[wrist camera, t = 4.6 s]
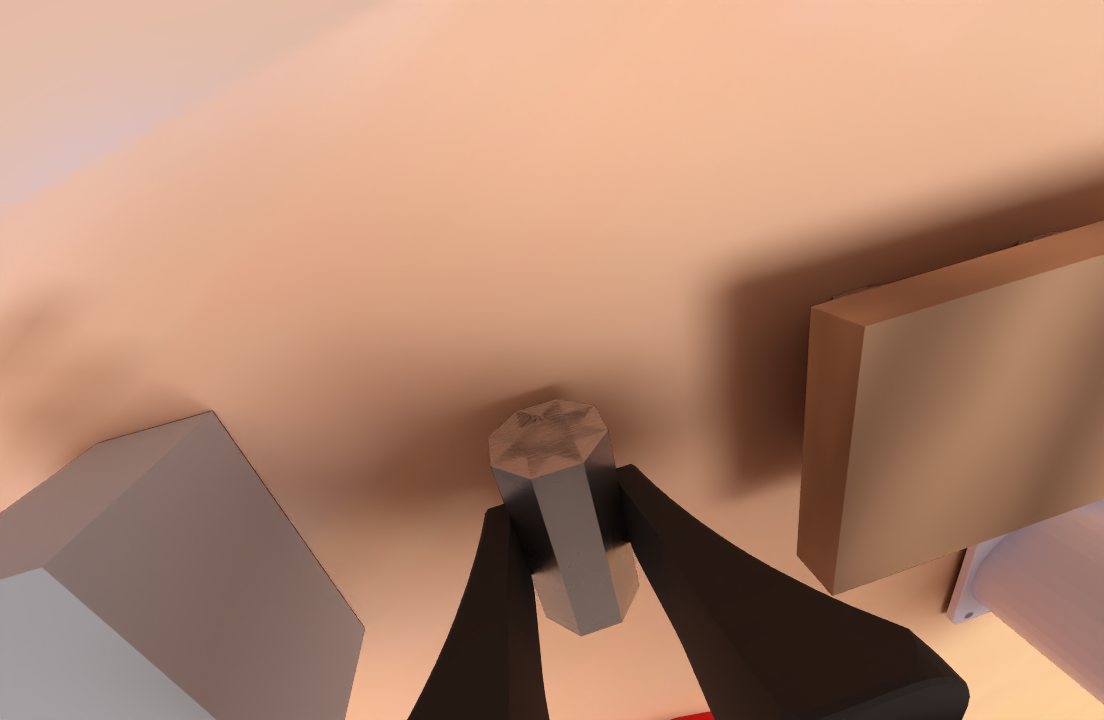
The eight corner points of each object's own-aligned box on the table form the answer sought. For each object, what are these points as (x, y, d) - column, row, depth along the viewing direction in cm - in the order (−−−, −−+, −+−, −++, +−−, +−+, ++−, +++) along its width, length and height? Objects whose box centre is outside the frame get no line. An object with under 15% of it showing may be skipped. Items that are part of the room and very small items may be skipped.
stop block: (212, 411, 11) (42, 567, 7) (364, 629, 15) (323, 813, 11) (97, 443, 11) (-161, 628, 6) (284, 655, 15) (209, 854, 11)
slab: (1343, 149, 11) (1463, 145, 10) (1193, 418, 15) (1264, 441, 14) (811, 306, 10) (865, 326, 9) (796, 555, 14) (832, 596, 13)
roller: (586, 390, 12) (620, 451, 9) (616, 532, 15) (650, 612, 12) (486, 420, 12) (492, 491, 9) (535, 559, 14) (552, 646, 12)
